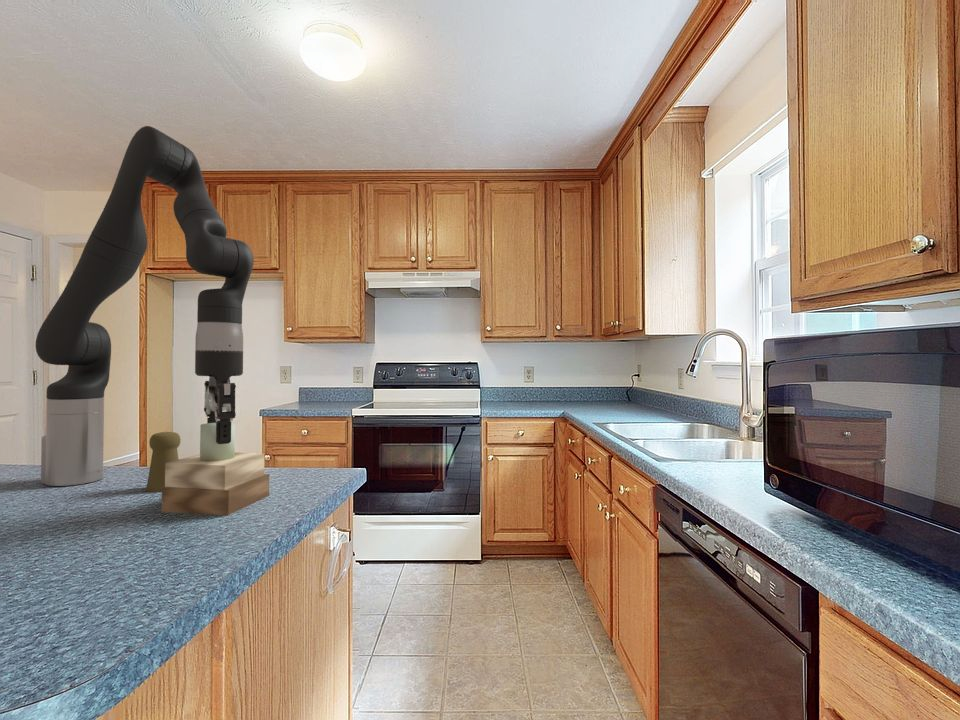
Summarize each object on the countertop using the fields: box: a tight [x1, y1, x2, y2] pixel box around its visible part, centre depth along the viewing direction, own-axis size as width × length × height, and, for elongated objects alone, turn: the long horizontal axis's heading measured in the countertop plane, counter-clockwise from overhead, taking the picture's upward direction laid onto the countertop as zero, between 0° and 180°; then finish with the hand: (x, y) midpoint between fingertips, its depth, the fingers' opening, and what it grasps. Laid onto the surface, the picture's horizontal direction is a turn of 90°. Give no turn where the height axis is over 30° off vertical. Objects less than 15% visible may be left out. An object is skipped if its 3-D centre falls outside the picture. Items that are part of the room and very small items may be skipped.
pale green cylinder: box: [199, 422, 236, 461], centre depth 86 cm, size 5×5×6 cm
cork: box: [145, 431, 181, 493], centre depth 96 cm, size 6×6×11 cm
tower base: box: [161, 473, 270, 516], centre depth 86 cm, size 12×12×4 cm
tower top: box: [165, 452, 265, 490], centre depth 86 cm, size 11×11×4 cm
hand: (218, 440), depth 86 cm, fingers open, 8 cm apart
